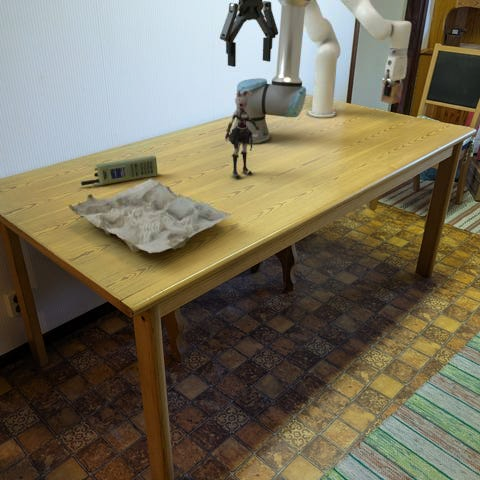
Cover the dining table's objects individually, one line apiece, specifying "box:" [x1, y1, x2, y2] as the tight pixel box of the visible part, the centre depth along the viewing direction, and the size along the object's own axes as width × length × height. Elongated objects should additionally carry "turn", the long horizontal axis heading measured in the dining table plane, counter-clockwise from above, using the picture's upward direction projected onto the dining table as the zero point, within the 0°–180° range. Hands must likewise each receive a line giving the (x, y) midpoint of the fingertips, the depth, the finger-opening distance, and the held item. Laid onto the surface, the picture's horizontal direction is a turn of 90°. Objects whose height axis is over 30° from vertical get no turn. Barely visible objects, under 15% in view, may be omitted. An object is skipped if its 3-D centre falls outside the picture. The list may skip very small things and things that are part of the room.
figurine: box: [224, 86, 260, 179], centre depth 165 cm, size 15×6×30 cm, turn 132°
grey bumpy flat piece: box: [68, 178, 232, 254], centre depth 138 cm, size 38×6×30 cm
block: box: [380, 81, 404, 105], centre depth 225 cm, size 6×6×8 cm
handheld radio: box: [80, 155, 159, 187], centre depth 164 cm, size 7×3×25 cm
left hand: (249, 63), depth 150 cm, fingers open, 13 cm apart
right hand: (391, 94), depth 226 cm, fingers closed on block, 6 cm apart
